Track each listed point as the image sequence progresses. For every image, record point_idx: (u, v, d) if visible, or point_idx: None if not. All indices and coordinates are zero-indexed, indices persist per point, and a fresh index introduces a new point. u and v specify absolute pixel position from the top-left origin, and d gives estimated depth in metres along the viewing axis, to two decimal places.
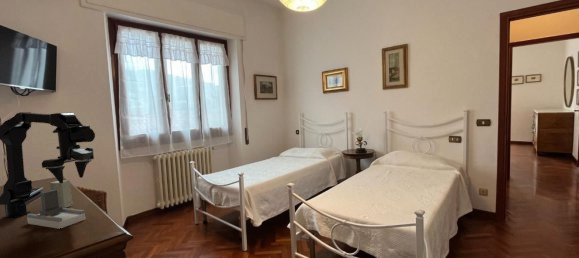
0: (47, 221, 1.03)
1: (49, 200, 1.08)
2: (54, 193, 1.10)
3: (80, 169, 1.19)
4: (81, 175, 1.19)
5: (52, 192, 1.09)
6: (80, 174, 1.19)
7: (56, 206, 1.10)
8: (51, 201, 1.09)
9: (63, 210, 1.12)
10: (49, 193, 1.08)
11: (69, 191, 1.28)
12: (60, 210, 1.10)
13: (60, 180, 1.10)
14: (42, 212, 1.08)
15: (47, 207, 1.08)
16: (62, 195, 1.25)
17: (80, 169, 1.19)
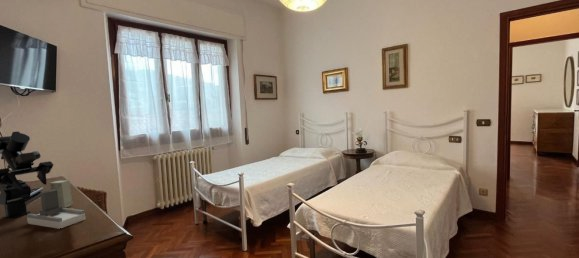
0: (47, 221, 1.03)
1: (49, 200, 1.08)
2: (54, 193, 1.10)
3: (41, 177, 1.17)
4: (44, 182, 1.16)
5: (52, 192, 1.09)
6: (43, 181, 1.16)
7: (56, 206, 1.10)
8: (51, 201, 1.09)
9: (63, 210, 1.12)
10: (49, 193, 1.08)
11: (69, 191, 1.28)
12: (60, 210, 1.10)
13: (19, 187, 1.09)
14: (42, 212, 1.08)
15: (47, 207, 1.08)
16: (62, 195, 1.25)
17: (41, 178, 1.17)
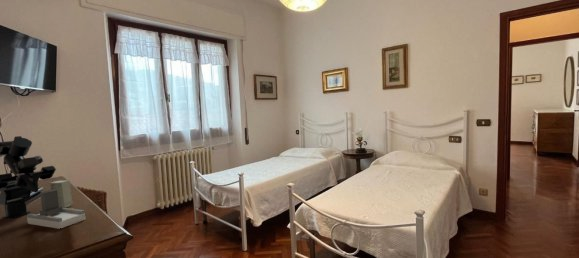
0: (47, 221, 1.03)
1: (49, 200, 1.08)
2: (54, 193, 1.10)
3: (33, 184, 1.13)
4: (36, 189, 1.12)
5: (52, 192, 1.09)
6: None
7: (56, 206, 1.10)
8: (51, 201, 1.09)
9: (63, 210, 1.12)
10: (49, 193, 1.08)
11: (69, 191, 1.28)
12: (60, 210, 1.10)
13: (33, 189, 1.12)
14: (42, 212, 1.08)
15: (47, 207, 1.08)
16: (62, 195, 1.25)
17: None
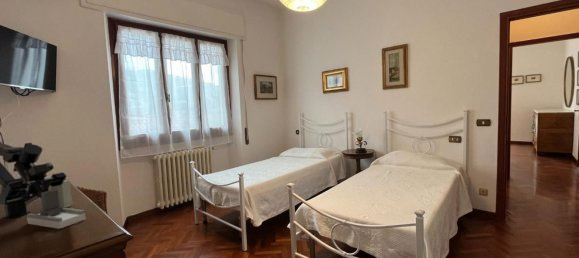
0: (47, 221, 1.03)
1: (49, 200, 1.08)
2: (54, 193, 1.10)
3: None
4: None
5: (52, 192, 1.09)
6: None
7: (56, 206, 1.10)
8: (51, 201, 1.09)
9: (63, 210, 1.12)
10: (49, 193, 1.08)
11: (69, 191, 1.28)
12: (60, 210, 1.10)
13: None
14: (42, 212, 1.07)
15: (48, 207, 1.08)
16: (62, 195, 1.25)
17: None
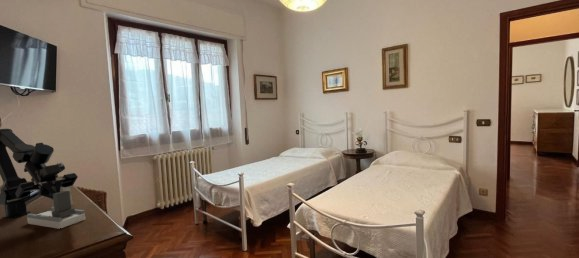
0: (47, 221, 1.03)
1: (61, 201, 1.05)
2: (66, 194, 1.07)
3: None
4: None
5: (64, 193, 1.06)
6: None
7: (68, 207, 1.08)
8: (63, 202, 1.06)
9: None
10: (61, 194, 1.05)
11: None
12: (72, 212, 1.08)
13: None
14: (54, 214, 1.05)
15: (60, 208, 1.05)
16: None
17: None
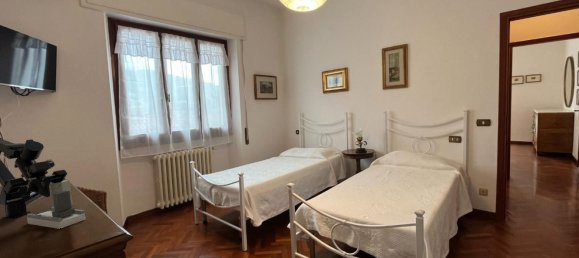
0: (47, 221, 1.03)
1: (61, 201, 1.05)
2: (67, 194, 1.07)
3: (45, 189, 1.10)
4: (47, 194, 1.10)
5: (65, 193, 1.06)
6: None
7: (69, 207, 1.07)
8: (64, 202, 1.06)
9: None
10: (62, 194, 1.05)
11: None
12: (73, 212, 1.08)
13: (45, 194, 1.09)
14: (54, 214, 1.05)
15: (60, 208, 1.05)
16: None
17: None
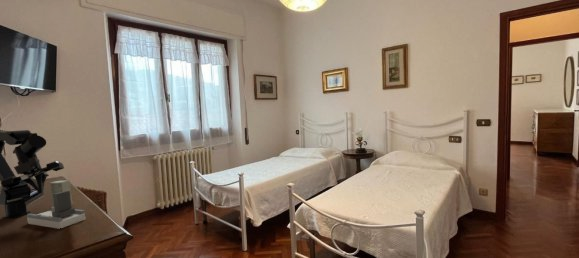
0: (47, 221, 1.03)
1: (61, 201, 1.05)
2: (67, 194, 1.07)
3: None
4: None
5: (65, 193, 1.06)
6: None
7: (69, 207, 1.07)
8: (64, 202, 1.06)
9: None
10: (62, 194, 1.05)
11: None
12: (73, 212, 1.08)
13: None
14: (54, 214, 1.05)
15: (60, 208, 1.05)
16: None
17: None
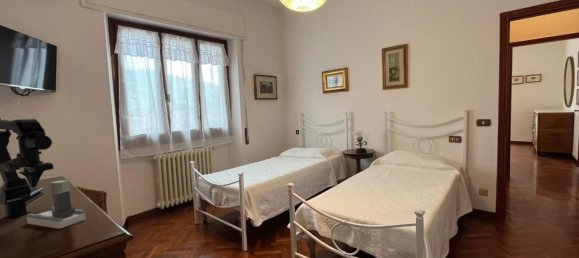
0: (47, 221, 1.03)
1: (61, 201, 1.05)
2: (67, 194, 1.07)
3: None
4: None
5: (65, 193, 1.06)
6: None
7: (69, 207, 1.07)
8: (64, 202, 1.06)
9: None
10: (62, 194, 1.05)
11: None
12: (73, 212, 1.08)
13: None
14: (54, 214, 1.05)
15: (60, 208, 1.05)
16: None
17: None
